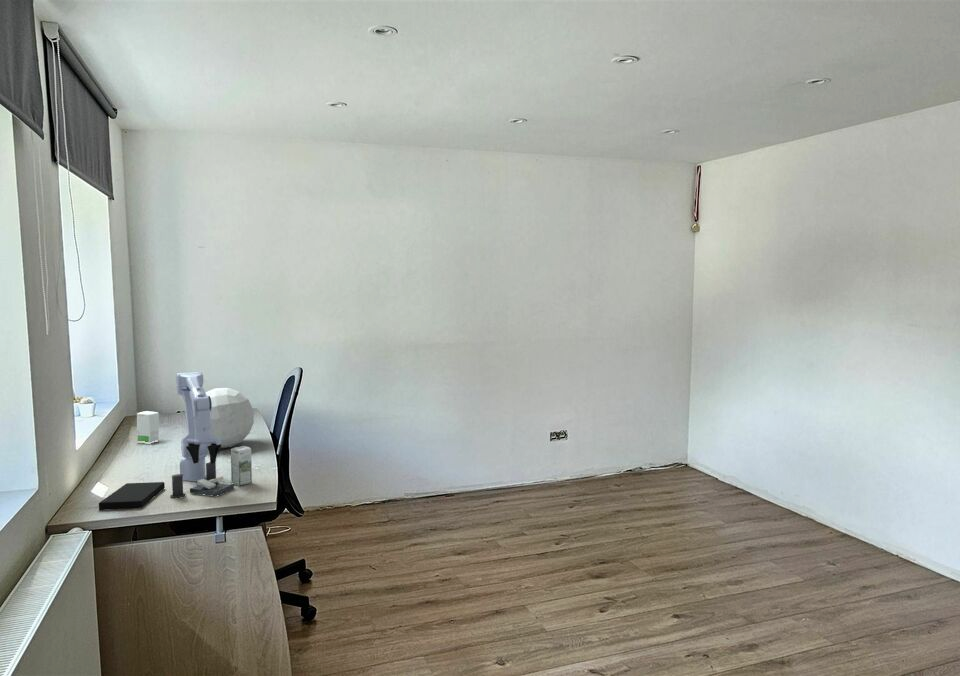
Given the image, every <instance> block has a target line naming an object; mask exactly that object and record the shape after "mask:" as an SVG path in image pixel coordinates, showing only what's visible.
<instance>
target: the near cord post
mask: <svg viewBox="0 0 960 676" xmlns="http://www.w3.org/2000/svg"><path fill="white" fill-rule="evenodd" d="M171 486H172V494H170V495H169V496H170V497H171V498H170V499H172V498H178V499H181V498H180V497H183V498H185V497H186V496H187V495H186V494H187V493H185V492H184V480H183V475H182V474H180V473H177V474H173V475H171ZM185 495H186V496H185ZM184 496H185V497H184Z"/></svg>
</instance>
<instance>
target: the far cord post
mask: <svg viewBox="0 0 960 676" xmlns="http://www.w3.org/2000/svg"><path fill="white" fill-rule="evenodd" d="M216 465H217V464H216V463H213V464H211V463H210V461H209V462H207V463H206V462H205V468H206V478H205V480H207V481H209V480H212V479H216V478H217V468H216V467H217V466H216Z"/></svg>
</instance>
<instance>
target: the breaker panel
mask: <svg viewBox="0 0 960 676" xmlns="http://www.w3.org/2000/svg"><path fill="white" fill-rule="evenodd" d="M214 484H216V486H215V487H213V488H211V489H208V488H206V487H204V486H201V485H199V484H197V485H195V486H193V487H191V488H189V494H190V493H194V494H193V495H197V494H205V495H213V496H212V497H214V496H217V495H219V496H221V495H224V494H226V493H228V492H230V490H231V491H233V490H235V484H232V483H229V482H220V481H218V482H214ZM232 489H233V490H232ZM227 491H228V492H227ZM225 492H226V493H225ZM223 493H224V494H223ZM220 494H221V495H220ZM205 495H204V496H205ZM217 497H218V496H217Z"/></svg>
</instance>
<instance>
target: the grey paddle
mask: <svg viewBox="0 0 960 676" xmlns="http://www.w3.org/2000/svg"><path fill="white" fill-rule="evenodd" d="M196 484H197V485H201V486H204V487H206V488H208V489H211V488H213V487H215V486H216V484H214V483H212V482H210V481H207V480H206V478H205V479H201V480H199V481H197V482H196Z"/></svg>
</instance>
